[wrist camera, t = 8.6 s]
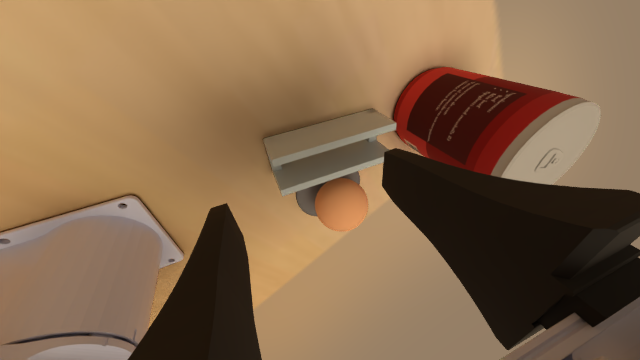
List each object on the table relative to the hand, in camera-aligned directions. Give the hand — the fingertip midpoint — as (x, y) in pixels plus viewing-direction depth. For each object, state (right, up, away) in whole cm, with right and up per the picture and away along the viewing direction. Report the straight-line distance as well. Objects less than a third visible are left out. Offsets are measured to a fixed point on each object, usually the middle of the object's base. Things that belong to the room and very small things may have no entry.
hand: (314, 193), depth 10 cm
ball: (+1, 0, +14) cm, 14 cm away
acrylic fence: (0, +4, +10) cm, 11 cm away
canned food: (+11, +8, +13) cm, 18 cm away
